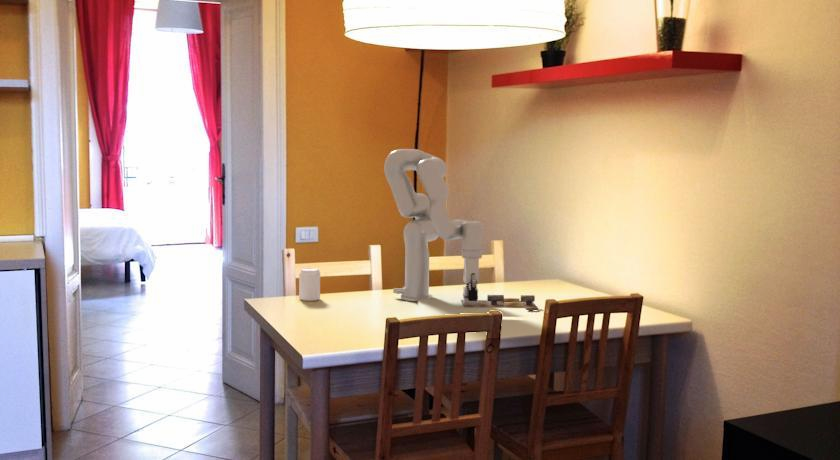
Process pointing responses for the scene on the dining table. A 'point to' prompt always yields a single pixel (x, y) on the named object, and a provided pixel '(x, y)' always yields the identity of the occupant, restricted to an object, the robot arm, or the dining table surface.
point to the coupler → (465, 297)
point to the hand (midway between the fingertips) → (471, 298)
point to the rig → (506, 302)
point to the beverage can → (309, 284)
